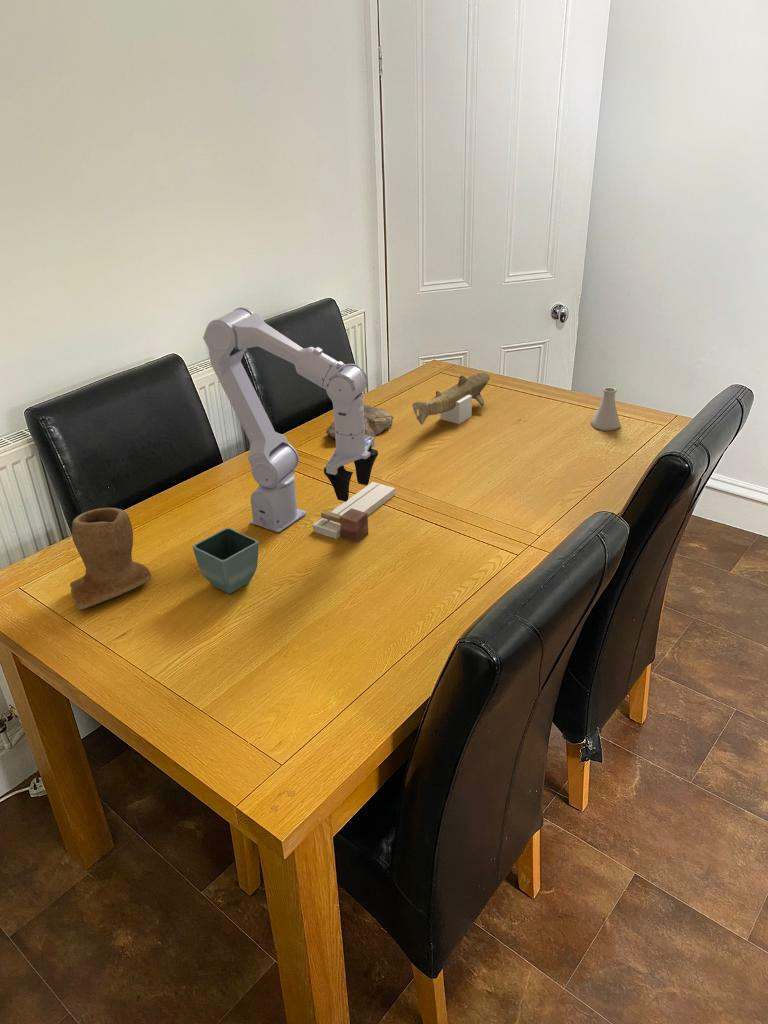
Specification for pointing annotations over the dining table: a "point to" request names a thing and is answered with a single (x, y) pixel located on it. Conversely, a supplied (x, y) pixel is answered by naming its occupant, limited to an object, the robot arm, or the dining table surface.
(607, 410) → the flask
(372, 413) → the grey brown rock
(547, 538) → the dining table surface
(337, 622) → the dining table surface
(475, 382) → the wood carving
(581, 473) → the dining table surface
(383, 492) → the board
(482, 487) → the dining table surface
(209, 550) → the flower pot
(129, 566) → the stone cup
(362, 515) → the chocolate popsicle
